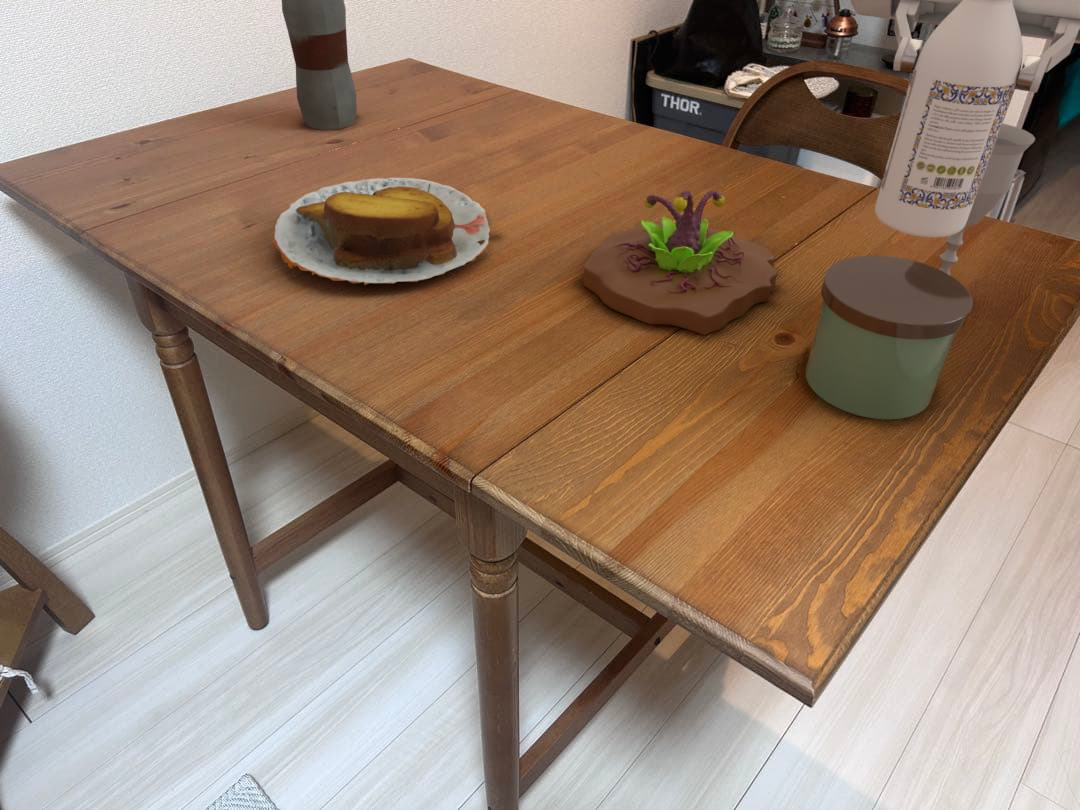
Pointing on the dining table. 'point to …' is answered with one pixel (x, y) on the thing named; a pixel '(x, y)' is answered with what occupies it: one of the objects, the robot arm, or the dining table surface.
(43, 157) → the dining table surface
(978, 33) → the bath foam
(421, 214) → the food on plate
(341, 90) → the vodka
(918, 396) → the canister
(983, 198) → the chalice
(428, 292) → the dining table surface
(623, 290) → the plant
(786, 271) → the dining table surface
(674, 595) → the dining table surface
